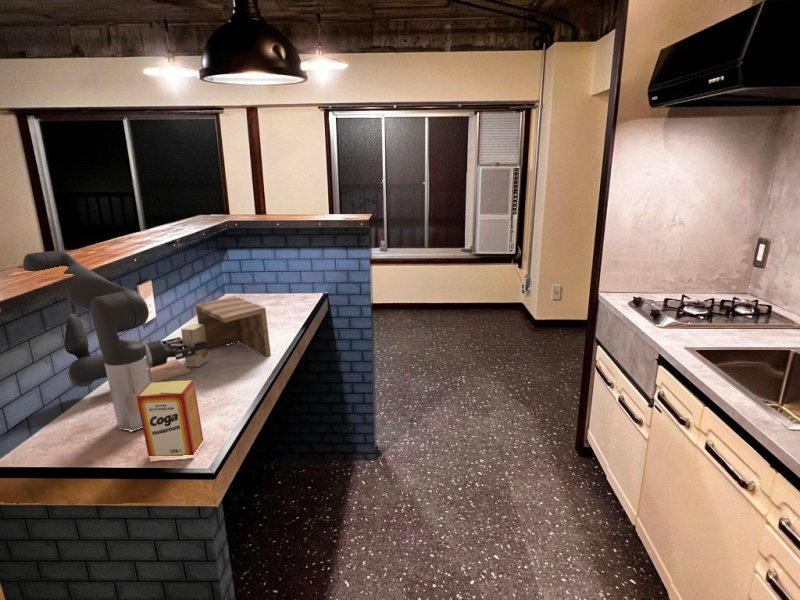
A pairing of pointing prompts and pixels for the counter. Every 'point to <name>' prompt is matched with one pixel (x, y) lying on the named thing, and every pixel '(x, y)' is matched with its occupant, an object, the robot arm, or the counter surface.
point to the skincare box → (193, 336)
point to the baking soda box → (170, 418)
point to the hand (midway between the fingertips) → (201, 341)
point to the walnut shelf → (234, 324)
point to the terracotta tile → (168, 370)
